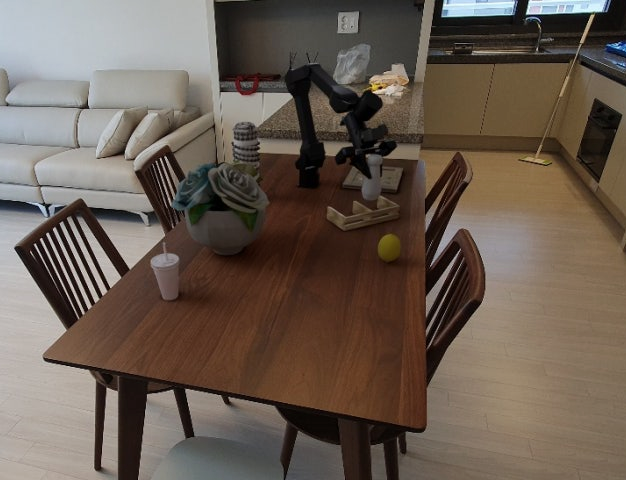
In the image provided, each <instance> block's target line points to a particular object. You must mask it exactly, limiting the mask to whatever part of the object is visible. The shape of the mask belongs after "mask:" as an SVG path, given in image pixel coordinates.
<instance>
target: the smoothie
mask: <svg viewBox="0 0 626 480" xmlns="http://www.w3.org/2000/svg"><path fill="white" fill-rule="evenodd" d="M162 247H163V253H160V254H157V255H155V256H154V257H152V258H151V259H150V267H151V268H152V269H153V272H154V276H155V278H156V281H157V285H158V287H159V290H160V294H161V297H162V298H163V300H165V301H173V300H176V299H177V298H178V297H179V265H180V262H181V261H180V258H179V256H178V255H177V254H175V253H170V252H169V253H168V251H167V244H166V242H162Z"/></svg>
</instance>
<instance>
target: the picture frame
mask: <svg viewBox="0 0 626 480" xmlns="http://www.w3.org/2000/svg"><path fill="white" fill-rule="evenodd" d="M368 166H369V164H368ZM351 167H352V168H351V169H350V171H349V173H348V174H347V176H346V178H345V179H344V180H343V182H342V189H353V190H362V187H363V183H364V180H365V175H363V174H362V173H361V172H360V171H359V170H358V169H356V168H355V167H354V166H351ZM403 171H404V168H403V167H396V166H385V165H382V177H380V180H381V193H382V192H384V193H394V194H396V193H397V191H398V188H399V186H400V181H401V178H402V175H403Z"/></svg>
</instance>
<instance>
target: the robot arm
mask: <svg viewBox="0 0 626 480" xmlns="http://www.w3.org/2000/svg"><path fill="white" fill-rule="evenodd" d="M284 83H285V86H286V89H287V92H288V93H289V95H290V96H291V97H292V98H293V100H294V105H295V111H296V115H297V120H298V126H299V132H300V137H301V145H300V147H299V157H298V158H297V160H296V161H295V162H294V166H295V169H296V170H298V174H299V175H298V184H297V185H296V186H297V187H300V188H309V189H315V188H316V187H317V186H318V185H319V184H320V180H321V179H320V177H321V175H320V174H321V172H320V171H319V170H320V168H323V165H324V162H325V160H326V154H327V152H326V150H325V143H324V141H321V140H319V139H318V138H317V133H316V127H315V122H314V118H313V112H312V107H311V101H310V97H309V94H310V91H311V88H312V83H313V84H314V85H315V87H316V88H318V89H319V90H320V91H321V92H322V93H323V94H324V96H326V97H327V99H328V104H329V106H330V107H331V109H332V111H333V112H334V113H335V114H337V115H341V114H345V113H346V115H343V116H342V117H341V120H340V122H339V126H340V127H345V128H346V131H347V134H348V137H349V138H348V139H347V142H348V143H349V144H351V145H348V146H343V147H341V148H340V149H339V151H338V152H337V153H336V154H335V155H334V161H335V164H336V166H341V165H345V164H346V163H347V161H348V159H349V162H348V165H349V166H351V167H353V166H354V167H355V168H356V169H358V170H359V171H360V172H361V173H362V174H363V175H365V176H366V177H367V178H368V179H369V180H370V179H371V178H372V176H371V172H370V170H369V167H368V165H369V164H368V163H367V156H369V155H372V154H377V155H381V156H382V157H383V158H386V157H388V156H389V155H390V154H392V153H393V152H394V151H395V150H396V149H397V148H398V144H397V142H396V140H395V139H392V138H391V139H386V136H388V135H389V128H388V126H387V124H386V123H383V124H379V125H377V127H372V128H371V126H370V127H368V125H367V123H366V122H370V121H371V120H372V119H373V117H375V116H376V114H377V113H379V111H381V109H382V108H383V106H384V102H383V99H382V97H380V96H379V95H378V94H377V93H375V92H373V91H372V89H365V90H364V91H363V92H362V94H361V95H360V96H359V95H358V93H357V92H355V90H353V89H351V88H349V87H346V86H342V85H341V84H340V83H338V81H336V80H335V79H334V77H332V76H331V75H330V74H329V73H328V72H327V71H325V69H323V67H322V65H321V64H320V63H318V62H310V63H306V64H304V65H302V66H300V67H297V68H292V69H291V68H289V69H288V70H287V71H286V73H285V74H284ZM381 139H382V141H381V142H380V143H379V141H380V140H381ZM384 139H385V140H384ZM378 143H379V144H378ZM377 144H378V145H377ZM375 145H376V146H375ZM382 162H383V160H382ZM382 166H383V163H382V164H380V177H382Z"/></svg>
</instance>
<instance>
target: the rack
mask: <svg viewBox="0 0 626 480" xmlns="http://www.w3.org/2000/svg"><path fill="white" fill-rule="evenodd" d="M326 208H327V210H326V220H328V221H329V222H331V223H332V224H334V225H335V226H336V227H338V229H339V228H340V229H341V230H342V231H345V232H346V231H350V230H355V229H358V228H363V227H366V226H371V225H375V224H379V223H384V222H387V221H392V220H397V219H399V215H400V213H398V211H400V209H401V205H399V204H397V203H396V202H394V201H392V200H390V199H388V198H386V197H384V196H382V195H379V197H378V198H377V203H376V208H377V209H375V210H372V209H371V208H368V207H367V206H365V205H363V204H362V203H360V202H359V201H357V200H353V203H352V215H349V216H345V215H344V214H342V213H340V212H339V211H338V210H336V209H334V208H333V207H331V206H327V207H326ZM385 214H386V215H385ZM373 217H374V218H373Z"/></svg>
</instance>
